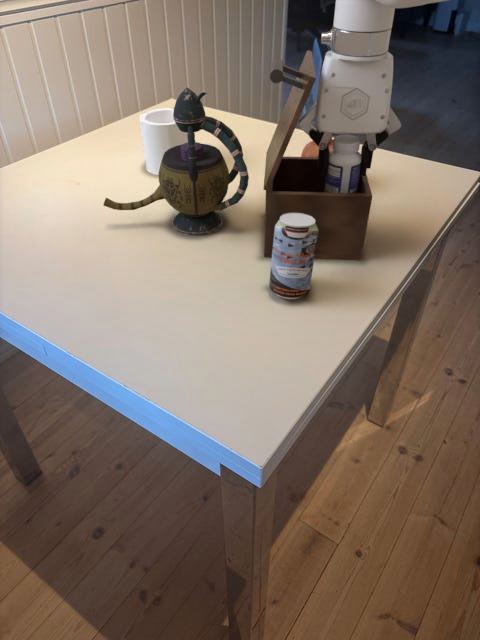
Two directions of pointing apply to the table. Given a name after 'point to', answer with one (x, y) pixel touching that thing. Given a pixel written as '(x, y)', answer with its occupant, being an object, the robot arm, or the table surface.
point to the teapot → (196, 172)
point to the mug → (159, 136)
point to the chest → (318, 208)
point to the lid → (288, 110)
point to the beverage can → (293, 255)
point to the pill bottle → (344, 165)
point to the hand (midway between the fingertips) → (343, 170)
